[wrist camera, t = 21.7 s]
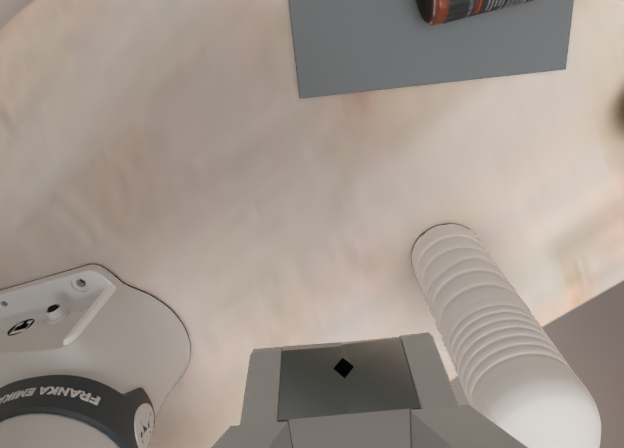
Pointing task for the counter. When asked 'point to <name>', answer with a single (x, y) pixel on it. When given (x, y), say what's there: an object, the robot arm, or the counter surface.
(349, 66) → the mat
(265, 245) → the counter surface
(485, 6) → the supplement bottle
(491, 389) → the water bottle
